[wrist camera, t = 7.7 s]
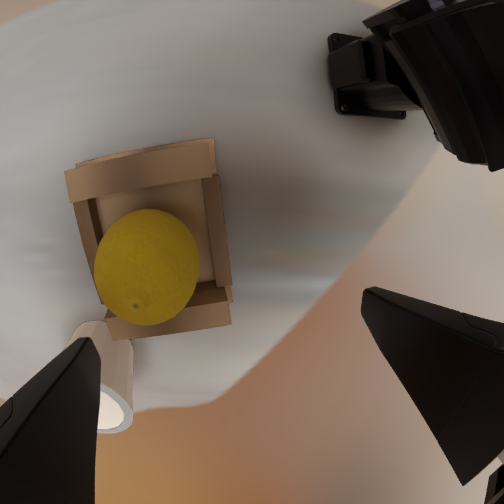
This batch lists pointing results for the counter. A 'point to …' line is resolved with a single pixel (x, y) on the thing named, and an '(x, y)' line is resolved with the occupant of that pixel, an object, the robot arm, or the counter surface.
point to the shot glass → (111, 376)
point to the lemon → (146, 267)
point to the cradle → (168, 200)
